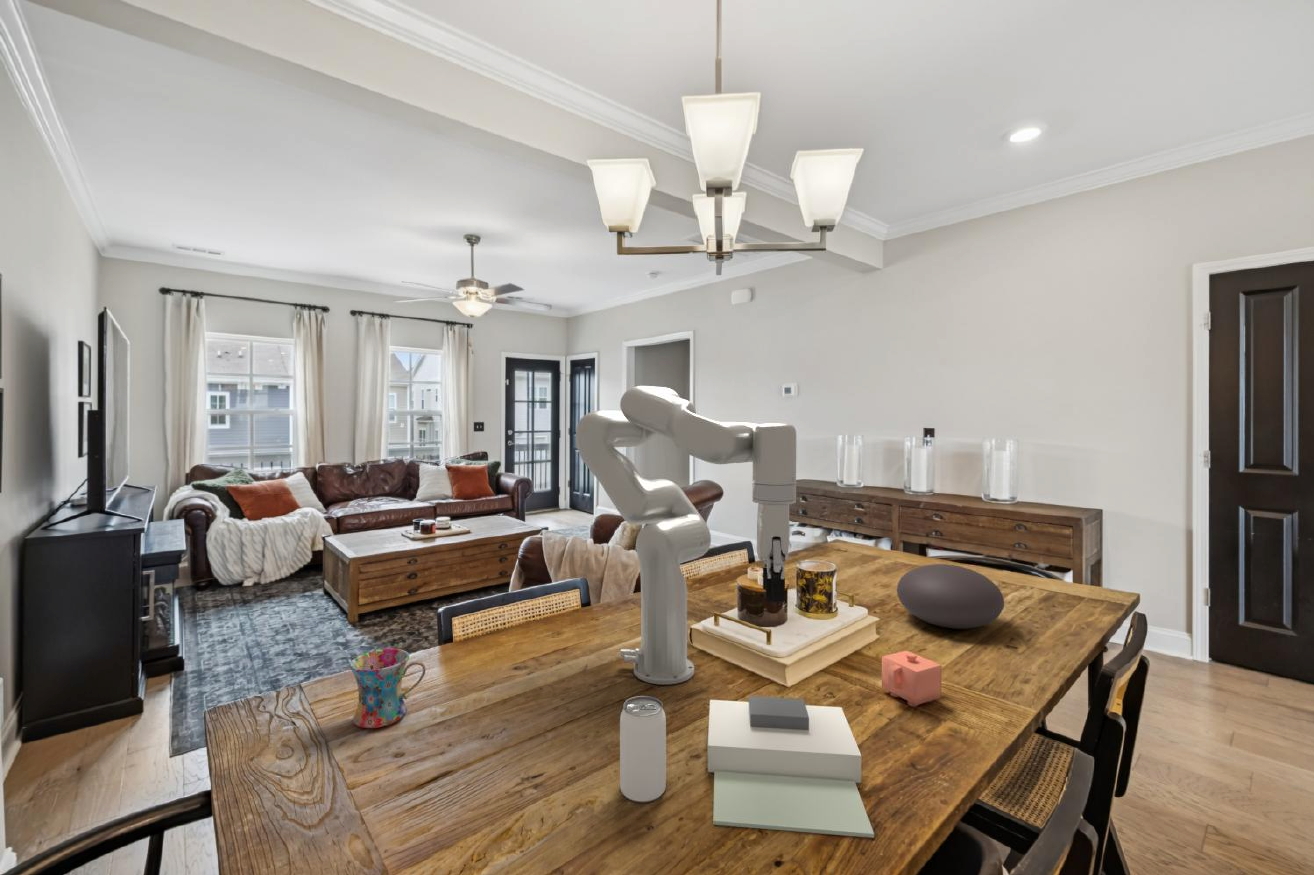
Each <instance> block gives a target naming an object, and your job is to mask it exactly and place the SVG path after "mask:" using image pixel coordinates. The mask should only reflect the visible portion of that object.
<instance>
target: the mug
mask: <svg viewBox="0 0 1314 875" xmlns="http://www.w3.org/2000/svg"><path fill="white" fill-rule="evenodd" d="M409 659H410V654H409V652H408V651H406V650H403V649H400V648H384V649H382V648H381V649H377V650H372V651H369V652H366V653H363V654H361V655H358V656H357V657H355V658H354V659H352V661H351V662H350V664H349V668H350V670H351V671H352V674H353V676H354V678H355V681H356V685H357V688H358V689H357V690H358V702H357V703H358V704H357V708H356V712H355V714H354V715H353V718H352V719H353V723H354V725H356V726H357V727H359V728H363V729H377V728H382V727H385V726H389V725H391V724H394V723H395V722H397V721H399V720H401V719H402V718H403V717H404V716H405V715H406V714H407V711H408V707H407V704H406V702H405V700H407V699H408V696H407V694H408V693H410V692H411V691H412V690H414V689H415V688H417V686H418V685H419V684H420V683H421V681H422V680H423V678H424V676H425V675H426V670H427V669H426V665H425V664H424V663H423V662H421V661H413V662H410V663H409V664H408V665H407V663H408V660H409ZM416 665H419V666H421V667H422V674H421V676H420V677H419V679H418V680H417V682H415V684H413V685H412V686H410V687H409V688H407V689H406V690H405V691H403V689H402V685H403V684H402V682H403V677H405V676H406V672H407V671H408V669H409V668H410V667H412V666H416Z"/></svg>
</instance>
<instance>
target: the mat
mask: <svg viewBox="0 0 1314 875" xmlns="http://www.w3.org/2000/svg"><path fill="white" fill-rule="evenodd" d="M713 773H714V779H713V782H714V783H713V810H712V811H713V813H712V815H713V817H712V819H713V820H712V824H713V825H714V826H715V825H716V826H726V827H728V826H729V827H737V828H739V827H740V828H750V829H762V830H764V829H765V830H775V831H786V832H787V831H788V832H799V833H812V834H822V835H823V834H824V835H835V836H848V837H859V838H872V839H874V838H875V832H874V830H873V827H872V825H871V822H870V818H869V817H868V814H867V810H866V808H865V805H864V802H863V801H862V800H863V799H862V797H861V794H860V791H859V790H858V787H857V783H855V781H844V780H830V779H816V778H802V777H788V776H774V775H760V774H747V773H733V772H719V771H714V772H713Z"/></svg>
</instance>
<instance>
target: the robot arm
mask: <svg viewBox="0 0 1314 875" xmlns="http://www.w3.org/2000/svg"><path fill="white" fill-rule="evenodd" d="M619 407H620V410H618V409H616V410H614V409H612V410H611V409H604V410H601V409H600V410H595V411H591V412H588V413H587V414H585V415H583V416H582V417H581V418H580V420H579V421H578V423H577V426H576V433H575V441H576V447H577V451H578V454H579V456H580V458H581V460H582V462H583V463H584V464H585V466H586V467H587V468H588V470H589V471H590V472H591V473H592V474H593V476H594V477H595V478H596V479H597V480H598V482H599V483H600V485H601V486H602V488H603V490H604V492H605V493H606V495H607V496H608V497H609V499H610V501H611V502H612V503H613V506H614V507H615V509H616V510H617V512H618V513H619V514H620V516H621V517H622V519H623V520H624V521H625V522H626V523H627V524H629V525H631V526H632V525H633V526H642V525H643V526H644V525H645V526H644V527H642V528H641V529H640V530H639V532H638V535H637V537H636V541H635V547H636V548H635V549H636V555H637V560H638V565H639V574H640V599H641V600H640V604H641V605H640V610H641V611H640V613H641V615H640V618H641V619H640V630H641V631H640V632H641V633H640V635H641V636H640V637H641V638H640V643H641V645H640V647H636V648H635V649H630V648H621V649H620V659H623V663H634V664H633V673H634V676H635V677H636V678H637V679H639V680H641V681H643V682H646V683H649V684H653V685H662V686H663V685H667V686H668V685H676V684H680V683H681V684H682V683H684V682H686V681H688V680H690V679H691V678H692V677H693V676H694V674H695V666H694V663H693V662H692V661H691V660H689V659H688V658H687V657H688V638H687V637H688V633H687V632H688V622H687V621H688V588H687V581H686V578H685V576H684V573H683V571H682V569H681V565H680V564H683V563H685V562H689V561H692V560H696V559H699V558H701V557H702V556H704V555H706V553H708V551H709V549H710V547H711V543H712V537H711V535H712V534H711V531H710V529H709V526H708V524H707V523H706V520H705V519H704V518H703V516H702V515H701V514H700V513H699V510H698V509H697V508H696V507H695V505H694V504H693V503H692V502H691V500H690V498H688V496H687V495H686V493H685V492H684V490H682V488H681V487H680V486H679V485H677V484H676V483H675V482H673V481H671V480H670V479H666V478H656V479H655V478H654V479H648V478H645V477H644V476H643V475H642V474H641V473H640V471H639V470H638V469H637V467H636V466H635V464H634V463H633V462H632V460H630V458H628V457H627V456H626V455H625V454H623V453H621V452H620V451H619V450H617V449H616V448H631V447H632V448H633V447H639V446H641V445H643V444H645V443H647V442H648V441H650V440H652V439H654V437H656V436H658V435H660V436H662V437H663V438H667V439H670V441H671V443H672V444H673V445H674V446H675V447H676V448H677V449H678V450H679V451H681V452H683V453H685V454H686V455H689V456H692V457H694V458H696V459H697V460H698V459H699V460H701V461H702V462H703V461H704V462H706V463H709V464H713V465H728V464H740V463H741V464H742V463H751V462H752V492H751V494H752V495H751V497H752V502H753V503H755V504H757V512H756V513H757V516H756V517H757V518H756V519H757V520H756V521H757V522H756V523H757V524H756V554H757V556H758V560H760V561H761V562H763V567H762V589H763V590H764V591H765V601H766V602H772V603H773V602H776V603H784V602H785V601H786V578H785V566H784V565H785V562H787V561H788V560H789V549H790V547H789V546H790V505H794V504H796V502H797V430H796V428H795V426H793V425H792V424H790V423H760V424H759V423H754V422H746V421H743V422H739V421H715V420H712V419H710V418H706V417H704V416H700V415H698V414H697V411H696V407H695V405H694V404H693V403H692V402H691V401H689V400H687V399H684V398H681V396H680V394H678V393H677V392H676V391H675V390H674V389H672V388H670V387H666V386H664V387H663V386H652V385H651V386H650V385H637V386H632V387H630V388H629V389H627V390H626V391H625V392H624V393H623V394H622V396H621V398H620V404H619Z"/></svg>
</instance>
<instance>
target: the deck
mask: <svg viewBox="0 0 1314 875" xmlns="http://www.w3.org/2000/svg"><path fill="white" fill-rule="evenodd" d="M805 706H806V709H807V713H808V716H809V730H795V729H779V728H763V727H750V717H749V701H736V700H721V699H720V700H719V699H710V700H709V713H708V714H709V717H708V732H707V733H708V737H707V773H714V771H719V772H733V773H747V774H760V775H774V776H788V777H802V778H816V779H830V780H844V781H855V783H856V784H861V783H862V754H861V752H860V749H859V746H858V744H857V742H856V739H855V737H854V734H853V732H852V729H851V726H850V725H849V722H848V720H847V718H846V716H845V713H844V710H843V708H842V707H840V706H828V705H827V706H826V705H822V706H821V705H809V704H808V705H807V704H805Z"/></svg>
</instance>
